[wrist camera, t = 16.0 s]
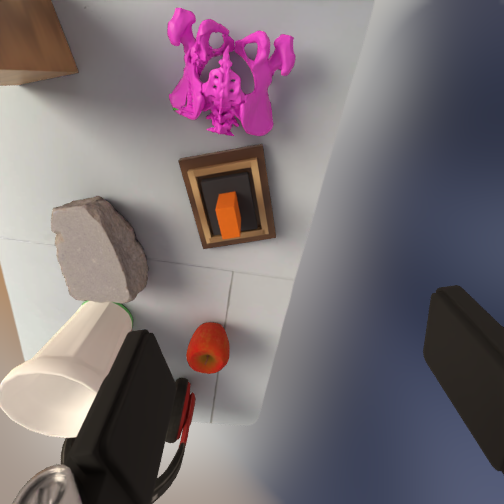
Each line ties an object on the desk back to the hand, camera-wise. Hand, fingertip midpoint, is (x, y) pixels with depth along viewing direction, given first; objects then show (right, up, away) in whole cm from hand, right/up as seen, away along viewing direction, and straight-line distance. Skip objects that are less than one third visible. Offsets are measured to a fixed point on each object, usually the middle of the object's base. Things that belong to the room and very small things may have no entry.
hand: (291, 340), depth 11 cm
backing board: (-4, +10, +29) cm, 31 cm away
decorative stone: (-21, +5, +32) cm, 38 cm away
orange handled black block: (-4, +9, +28) cm, 30 cm away
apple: (-8, -9, +40) cm, 42 cm away
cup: (-25, -7, +39) cm, 46 cm away
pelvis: (-4, +21, +23) cm, 32 cm away
